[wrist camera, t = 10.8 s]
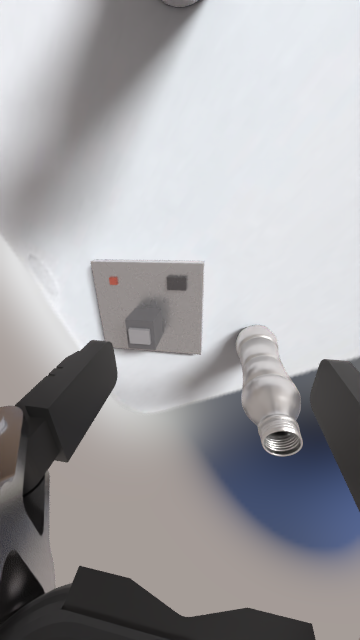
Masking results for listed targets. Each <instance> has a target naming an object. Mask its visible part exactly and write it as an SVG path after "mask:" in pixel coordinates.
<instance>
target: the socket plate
mask: <svg viewBox="0 0 360 640" xmlns="http://www.w3.org/2000/svg"><path fill="white" fill-rule="evenodd" d="M91 266H92V272H93V277H94V283H95V288H96V294H97V299H98V305H99V310H100V316H101V321H102V326H103V332H104V337H105V341H109V342H111V343H112V345H113V348H126V349H133V348H128V340H127V332H126V325H125V319H126V318H127V317H128V316H129V315H130V313H131V312H132V311H133V310H134V309H135V308H136V307H142V308H161V309H162V328H163V336H162V338H161V340H160V342H159V344H158V346H157V348H156V350H150V351H162V352H175V353H187V354H199V355H201V350H202V323H203V292H204V261H170V260H109V259H96V260H94V261H91ZM138 350H146V349H138Z"/></svg>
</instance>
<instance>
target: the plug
mask: <svg viewBox="0 0 360 640" xmlns="http://www.w3.org/2000/svg"><path fill="white" fill-rule="evenodd" d="M125 325H126V332H127V340H128V348H133V349H146V350H156V348H157V346H158V344H159V342H160V340H161V338H162V336H163V328H162V309H161V308H142V307H136V308H135V309H134V310H133V311H132V312H131V313H130V315H129V316H128V317H127V318H126V319H125Z"/></svg>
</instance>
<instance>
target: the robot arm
mask: <svg viewBox="0 0 360 640" xmlns="http://www.w3.org/2000/svg"><path fill="white" fill-rule="evenodd" d="M162 1H163V2H164V3H166V4H168V5H171V6H174V7H185V6H188V5H192V4H194V3H195V2H197V1H198V0H162ZM116 381H117V367H116V361H115V355H114V349H113V345H112V343H111V342H109V341H97V340H92V341H90V342H89V343H88V344H87V345H86V346H85V347H84V348H83V349H82V350H81V351H77V352H76V353H74V354H72V355H70V356H68V357H67V358H65V359H64V360H63V361H62V362H61V363H60V364H59V365H58V366H57V368H55V369H53V370H52V371H51V372H50V373H49V375H48V376H46V377H45V378H44V379H43V380H42V381H40V382H39V383H38V384H37V385H36V386H35V387H34V388H33V389H32V390H31V391H30V392H29V393H28V394H27V395H25V397H23V398H22V399H21V400H20V401H19V402H18V403H17V404H16V405H15V406H4V407H0V640H315V635H314V631H313V627H312V624H311V623H307V622H303V621H299V620H295V619H291V618H287V617H283V616H278V615H275V614H271V613H266V612H262V611H258V610H255V609H251V608H243V609H237V610H231V611H225V612H219V613H213V614H207V615H201V616H195V617H184V616H181V615H179V614H178V613H176V612H175V611H173V610H172V609H171V608H169V607H168V606H166V605H165V604H164V603H163V602H161V601H160V600H159V599H157V598H156V597H154V596H153V595H152V594H150V593H149V592H148V591H146V590H145V589H144V588H142V587H141V586H139V585H138V584H137V583H135V582H134V581H133V580H131V579H130V578H126V577H122V576H118V575H114V574H110V573H106V572H102V571H98V570H94V569H90V568H86V567H82V566H79V568H78V570H77V573H76V575H75V578H74V580H73V583H71V584H68V585H64V586H61V587H58V588H55V573H54V564H53V558H52V554H51V550H50V542H49V487H50V486H49V485H50V484H49V483H50V479H49V478H50V476H49V471H48V469H49V467H50V466H51V464H52V462H53V461H54V460H57V461H62V462H68V461H69V460H70V458H71V456H72V455H73V453H74V452H75V450H76V448H77V447H78V445H79V443H80V442H81V440H82V439H83V437H84V435H85V434H86V432H87V430H88V429H89V427H90V426H91V424H92V422H93V421H94V419H95V417H96V416H97V414H98V413H99V411H100V409H101V408H102V406H103V404H104V403H105V401H106V399H107V398H108V396H109V395H110V393H111V391H112V390H113V388H114V386H115V384H116ZM310 403H311V408H312V410H313V412H314V415H315V417H316V419H317V421H318V423H319V425H320V428H321V430H322V432H323V434H324V436H325V438H326V440H327V442H328V445H329V447H330V449H331V451H332V453H333V455H334V458H335V460H336V462H337V464H338V466H339V468H340V470H341V473H342V475H343V477H344V479H345V481H346V483H347V486H348V488H349V490H350V492H351V494H352V496H353V498H354V501H355V503H356V505H357V507H358V509H359V511H360V372H359V371H358V370H357V369H356V368H355V367H354V366H353V365H352V363H351V362H349V361H341V360H328V359H324V360H322V361H321V362H320V364H319V367H318V371H317V374H316V377H315V380H314V383H313V387H312V390H311V394H310ZM359 640H360V638H359Z"/></svg>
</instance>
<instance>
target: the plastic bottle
mask: <svg viewBox="0 0 360 640" xmlns="http://www.w3.org/2000/svg"><path fill="white" fill-rule="evenodd" d="M236 351H237V354H238V357H239V359H240V361H241V365H242V370H243V388H242V406H243V408H244V410H245V412H246V414H247V416H248V417H249V418H250V419H251V420H252V421H253V422H254V423H255V424H256V425H257V426H258V432H259V435H260V437H261V442H262V445H263V448H264V449H265V450H266V451H267V452H268V453H270V454H273V455H276V456H289V455H292V454H295V453H297V452H298V451H299V450H300V449H301V448H302V445H303V441H302V437H301V434H300V430H299V426H298V424H297V422H296V419H297V417H298V415H299V412H300V409H301V397H300V394H299V392H298V390H297V388H296V386H295V385H294V383H293V382H292V380H291V379H290V377H289V376H288V374H287V373H286V371H285V369H284V367H283V365H282V363H281V361H280V357H279V353H278V343H277V339H276V337H275V335H274V334H273V333H272V331H271V330H270V329H268V328H267V327H265V326H261V325H252V326H249V327H247V328H245V329H243V330H242V331H241V332H240V333H239V335H238V337H237V341H236Z"/></svg>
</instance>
